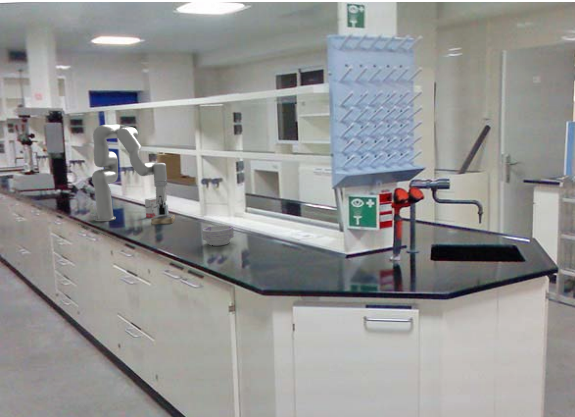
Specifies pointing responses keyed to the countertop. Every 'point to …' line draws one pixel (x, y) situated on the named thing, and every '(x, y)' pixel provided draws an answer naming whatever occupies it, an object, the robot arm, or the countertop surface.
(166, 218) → the maple stand
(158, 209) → the cube
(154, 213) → the ink box
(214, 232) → the paper bowls
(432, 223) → the countertop surface
